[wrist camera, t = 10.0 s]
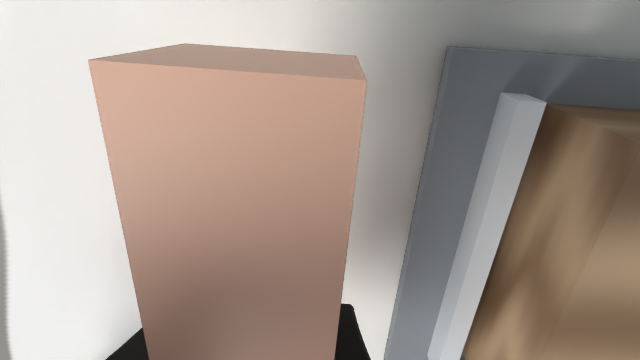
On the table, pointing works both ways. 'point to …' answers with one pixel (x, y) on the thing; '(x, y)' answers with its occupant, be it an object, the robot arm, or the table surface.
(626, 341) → the tan cardboard box
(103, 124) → the block
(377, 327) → the table surface
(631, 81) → the jig
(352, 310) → the robot arm
